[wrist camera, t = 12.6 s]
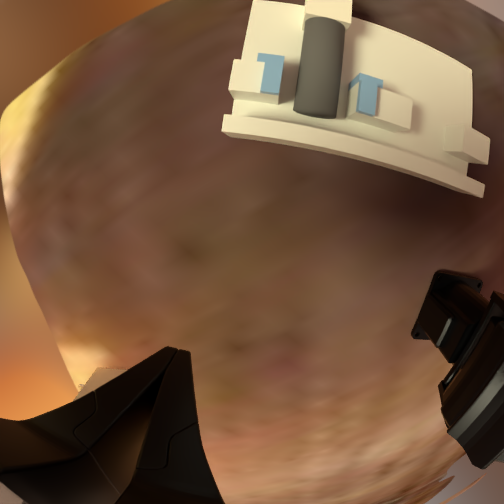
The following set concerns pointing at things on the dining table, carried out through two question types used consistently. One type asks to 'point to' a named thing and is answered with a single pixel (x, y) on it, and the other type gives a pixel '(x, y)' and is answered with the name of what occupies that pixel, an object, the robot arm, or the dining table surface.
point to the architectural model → (98, 380)
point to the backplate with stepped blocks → (361, 99)
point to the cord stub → (322, 57)
